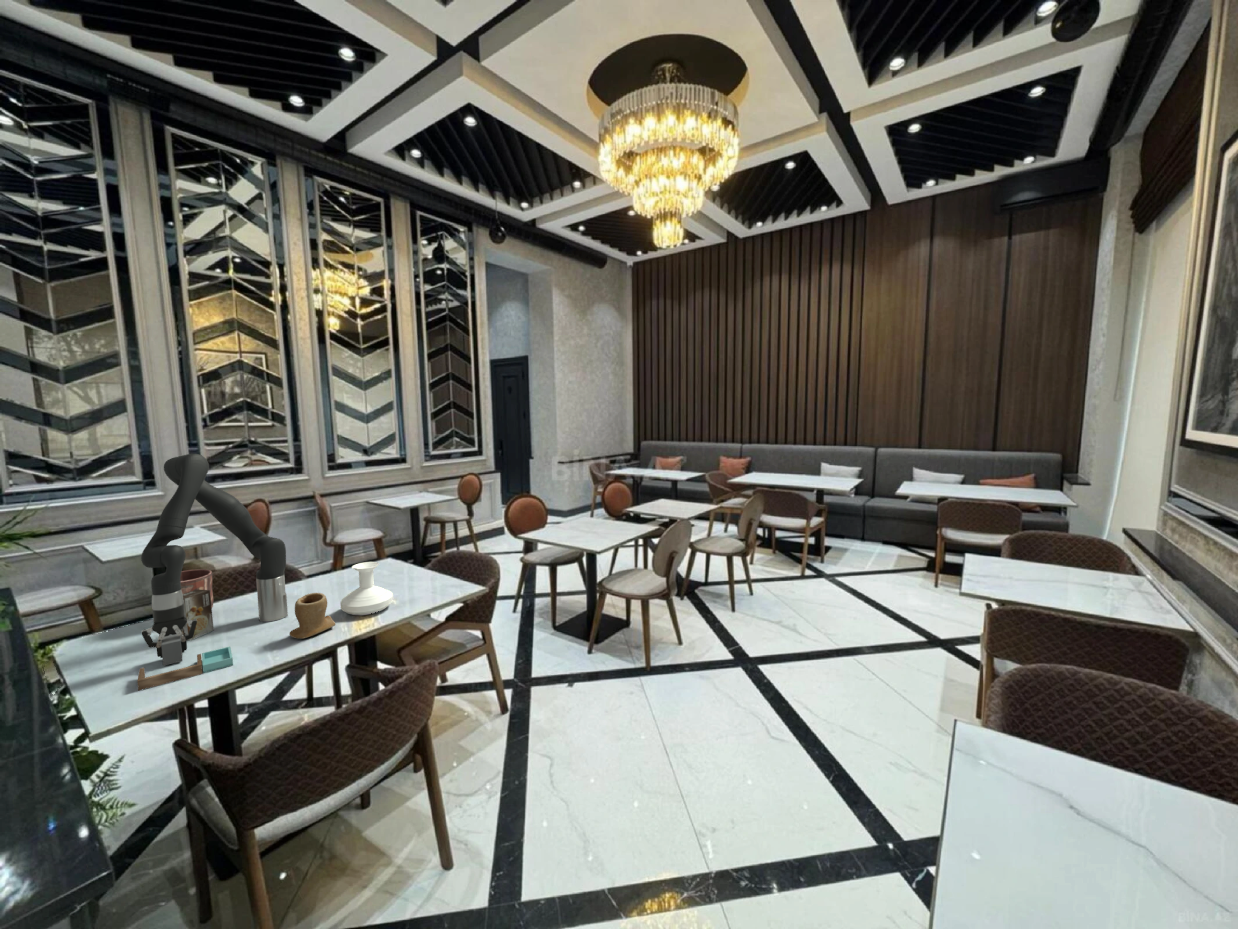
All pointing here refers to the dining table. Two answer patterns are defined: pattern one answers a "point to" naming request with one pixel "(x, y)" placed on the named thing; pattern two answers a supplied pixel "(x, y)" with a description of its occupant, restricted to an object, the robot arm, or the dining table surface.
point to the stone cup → (311, 616)
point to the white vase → (366, 593)
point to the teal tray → (217, 659)
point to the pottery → (196, 581)
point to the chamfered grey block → (171, 649)
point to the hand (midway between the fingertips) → (172, 654)
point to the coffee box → (198, 612)
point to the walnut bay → (169, 675)
